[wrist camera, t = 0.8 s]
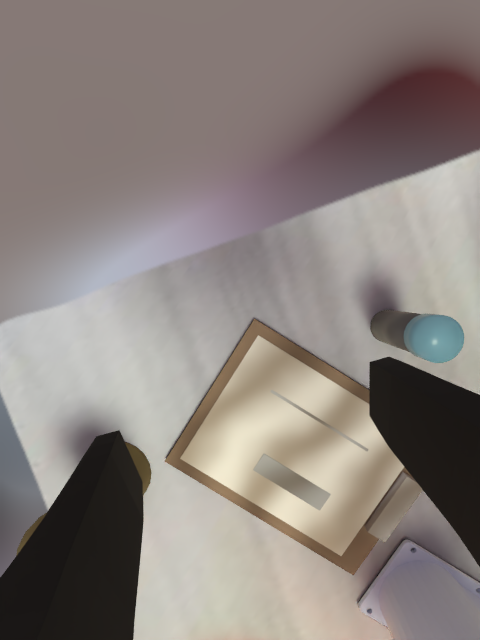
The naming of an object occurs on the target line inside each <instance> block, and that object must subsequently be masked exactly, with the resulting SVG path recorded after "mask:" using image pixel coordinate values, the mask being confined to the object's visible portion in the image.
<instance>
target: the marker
mask: <svg viewBox="0 0 480 640" xmlns="http://www.w3.org/2000/svg"><path fill="white" fill-rule="evenodd" d="M371 332H372V334H373V336H374V337H375V338H376V339H377V340H379V341H382V342H384V343H387V344H390V345H392V346H395V347H398V348H400V349H403V350H406V351H408V352H411V353H412V354H413V355H415V356H417V357H420V358H422V359H425V360H428V361H430V362H434V363H443V362H447V361H450V360H451V359H453V358H454V357H456V356H457V355H458V353H459V352H460V351H461V349H462V347H463V343H464V333H463V330H462V328H461V326H460V324H459V323H458V322H457V321H456V320H454V319H453V318H451V317H448V316H443V315H435V314H416V313H409V312H401V311H394V310H383V311H380V312H378V313H377V314H376V315H375V316H374V317H373V319H372V321H371Z"/></svg>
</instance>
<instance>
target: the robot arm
mask: <svg viewBox="0 0 480 640" xmlns="http://www.w3.org/2000/svg"><path fill="white" fill-rule="evenodd" d="M369 416H370V417H371V419H372V421H373V422H374V424H375V426H376V427H377V429H378V431H379V432H380V434H381V436H382V437H383V439H384V440H385V442H386V443H387V445H388V447H389V448H390V449H391V450H392V452H393V453H394V454H395V456H396V457H397V458H398V459H399V461H400V462H401V463H402V464H403V466H404V467H405V468H406V469H407V471H408V472H409V473H410V474H411V476H412V477H413V478H414V479H415V481H416V482H417V483H418V484H419V486H420V487H421V488H422V489H423V491H424V492H425V493H426V494H427V496H428V497H429V498H430V499H431V501H432V502H433V503H434V504H435V506H436V507H437V508H438V509H439V511H440V512H441V513H442V514H443V515H444V517H445V518H446V519H447V521H448V522H449V523H450V525H451V526H452V527H453V529H454V530H455V531H456V533H457V534H458V535H459V537H460V538H461V540H462V541H463V543H464V544H465V546H466V547H467V549H468V550H469V552H470V553H471V555H472V556H473V558H474V559H475V561H476V562H477V564H478V565H479V566H480V395H479V394H476V393H474V392H471V391H469V390H466V389H464V388H462V387H459V386H457V385H454V384H452V383H450V382H447V381H445V380H443V379H441V378H438V377H436V376H434V375H431V374H429V373H427V372H425V371H422V370H420V369H418V368H415V367H413V366H411V365H408V364H406V363H404V362H401V361H399V360H396V359H394V358H391V357H387V358H383V359H379V360H376V361H372V362H370V392H369ZM142 532H143V482H142V479H141V477H140V475H139V472H138V470H137V468H136V466H135V464H134V461H133V459H132V457H131V455H130V453H129V450H128V448H127V446H126V444H125V442H124V439H123V437H122V435H121V433H120V431H115V432H111V433H108V434H104V435H100V436H97V437H96V438H95V440H94V441H93V443H92V444H91V446H90V447H89V449H88V450H87V452H86V453H85V455H84V456H83V458H82V460H81V461H80V463H79V464H78V466H77V467H76V469H75V471H74V472H73V474H72V475H71V477H70V478H69V480H68V482H67V483H66V485H65V486H64V488H63V489H62V491H61V492H60V494H59V495H58V497H57V498H56V500H55V501H54V503H53V504H52V506H51V507H50V509H49V510H48V512H47V514H46V515H45V517H44V518H43V519H42V521H41V522H40V524H39V525H38V527H37V528H36V529H35V531H34V532H33V534H32V535H31V536H30V538H29V539H28V541H27V542H26V543H25V545H24V546H23V548H22V549H21V550H20V552H19V553H18V555H17V556H16V558H15V559H14V560H13V562H12V563H11V564H10V566H9V567H8V568H7V570H6V571H5V573H4V574H3V575H2V576H1V577H0V640H133V633H134V618H135V607H136V597H137V586H138V576H139V565H140V554H141V543H142ZM412 548H414V549H413V550H411V549H412ZM476 588H477V589H476ZM358 607H359V609H360V611H361V612H362V613H364V614H366V615H367V616H369V617H371V618H372V619H374V620H376V621H377V622H379V623H381V624H382V625H384V626H386V627H387V628H389V631H390V633H391V635H392V638H393V640H480V583H479V582H478V581H476V580H474V579H473V578H471V577H470V576H468V575H466V574H465V573H463V572H461V571H460V570H458V569H456V568H455V567H453V566H452V565H450V564H448V563H447V562H445V561H443V560H442V559H440V558H438V557H437V556H435V555H434V554H432V553H430V552H429V551H427V550H425V549H424V548H422V547H420V546H419V545H417V544H416V543H414V542H412V541H411V540H404V541H403V542H402V543H401V544H400V546H399V547H398V549H397V550H396V551H395V553H394V554H393V556H392V557H391V558H390V560H389V561H388V562H387V564H386V565H385V567H384V568H383V569H382V571H381V572H380V574H379V575H378V576H377V578H376V579H375V581H374V582H373V583H372V585H371V586H370V587H369V589H368V590H367V592H366V593H365V594H364V596H363V597H362V599H361V600H360V601H359V603H358ZM369 608H370V609H369ZM367 609H369V610H367Z"/></svg>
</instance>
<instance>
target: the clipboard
mask: <svg viewBox="0 0 480 640" xmlns="http://www.w3.org/2000/svg"><path fill="white" fill-rule="evenodd" d="M369 392H370V390H368V389H366V388H365V387H363V386H362V385H360V384H358V383H357V382H355V381H354V380H352V379H350V378H349V377H347V376H346V375H344V374H342V373H341V372H339V371H338V370H336V369H334V368H333V367H331V366H329V365H328V364H326V363H325V362H323V361H321V360H320V359H318V358H317V357H315V356H313V355H312V354H310V353H309V352H307V351H305V350H304V349H302V348H301V347H299V346H297V345H296V344H294V343H293V342H291V341H289V340H288V339H286V338H285V337H283V336H281V335H280V334H278V333H277V332H275V331H273V330H272V329H270V328H269V327H267V326H265V325H264V324H262V323H260V322H259V321H257V320H256V319H254V320H253V322H252V323H251V325H250V326H249V328H248V330H247V331H246V333H245V334H244V336H243V338H242V339H241V341H240V342H239V344H238V346H237V347H236V349H235V350H234V352H233V353H232V355H231V357H230V358H229V360H228V361H227V363H226V365H225V366H224V368H223V369H222V371H221V373H220V374H219V376H218V377H217V379H216V380H215V382H214V384H213V385H212V387H211V388H210V390H209V392H208V393H207V395H206V396H205V398H204V400H203V401H202V403H201V404H200V406H199V407H198V409H197V411H196V412H195V414H194V415H193V417H192V419H191V420H190V422H189V423H188V425H187V427H186V428H185V430H184V431H183V433H182V434H181V436H180V438H179V439H178V441H177V442H176V444H175V446H174V447H173V449H172V450H171V452H170V454H169V455H168V457H167V458H166V460H165V462H167V463H168V464H170V465H172V466H173V467H175V468H177V469H178V470H180V471H182V472H183V473H185V474H187V475H188V476H190V477H192V478H193V479H195V480H197V481H198V482H200V483H202V484H203V485H205V486H207V487H208V488H210V489H211V490H213V491H215V492H216V493H218V494H220V495H221V496H223V497H225V498H226V499H228V500H230V501H231V502H233V503H235V504H236V505H238V506H240V507H241V508H243V509H245V510H246V511H248V512H250V513H251V514H253V515H255V516H256V517H258V518H259V519H261V520H263V521H264V522H266V523H268V524H269V525H271V526H273V527H274V528H276V529H278V530H279V531H281V532H283V533H284V534H286V535H288V536H289V537H291V538H293V539H294V540H296V541H298V542H299V543H301V544H302V545H304V546H306V547H307V548H309V549H311V550H312V551H314V552H316V553H317V554H319V555H321V556H322V557H324V558H326V559H327V560H329V561H331V562H332V563H334V564H336V565H337V566H339V567H341V568H342V569H344V570H345V571H347V572H349V573H350V574H352V575H354V574H355V572H356V571H357V570H358V568H359V567H360V565H361V564H362V562H363V561H364V560H365V558H366V557H367V555H368V554H369V553H370V551H371V550H372V548H373V547H374V546H375V544H376V543H377V541H378V540H379V539H380V540H381V541H383V542H386V541H387V539H388V538H389V536H390V535H391V534H392V532H393V531H394V529H395V528H396V527H397V525H398V524H399V522H400V521H401V520H402V518H403V517H404V515H405V514H406V513H407V511H408V510H409V508H410V507H411V506H412V504H413V503H414V501H415V500H416V499H417V497H418V496H419V494H420V493H421V492H422V490H423V489H422V488H421V487H420V486H419V484H418V483H417V482H416V481H415V479H414V478H413V477H412V476H411V474H410V473H409V472H408V471H407V469H406V468H405V467H404V466H403V464H402V463H401V462H400V461H399V459H398V458H397V457H396V456H395V454H394V453H393V452H392V450H391V449H390V448H389V447H388V445H387V443H386V442H385V440H384V439H383V437H382V436H381V434H380V432H379V431H378V429H377V427H376V426H375V424H374V422H373V421H372V419H371V417H370V416H369Z"/></svg>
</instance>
